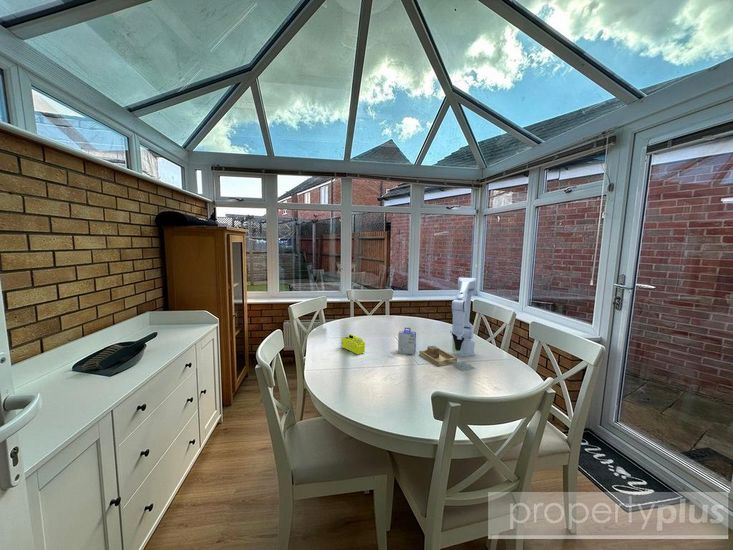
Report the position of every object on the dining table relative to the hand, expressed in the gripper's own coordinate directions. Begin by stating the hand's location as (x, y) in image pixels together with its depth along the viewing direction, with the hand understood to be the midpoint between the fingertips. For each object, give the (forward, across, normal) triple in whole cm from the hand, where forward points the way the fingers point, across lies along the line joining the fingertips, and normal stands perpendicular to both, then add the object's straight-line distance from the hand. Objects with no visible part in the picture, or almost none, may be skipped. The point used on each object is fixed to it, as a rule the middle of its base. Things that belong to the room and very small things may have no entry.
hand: (457, 348), depth 155 cm
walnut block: (+9, -9, -12) cm, 17 cm away
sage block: (+1, 0, 0) cm, 1 cm away
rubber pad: (+9, +2, +3) cm, 10 cm away
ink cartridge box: (+10, -13, -26) cm, 31 cm away
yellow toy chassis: (+10, -11, -58) cm, 60 cm away
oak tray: (+9, -6, -10) cm, 15 cm away
